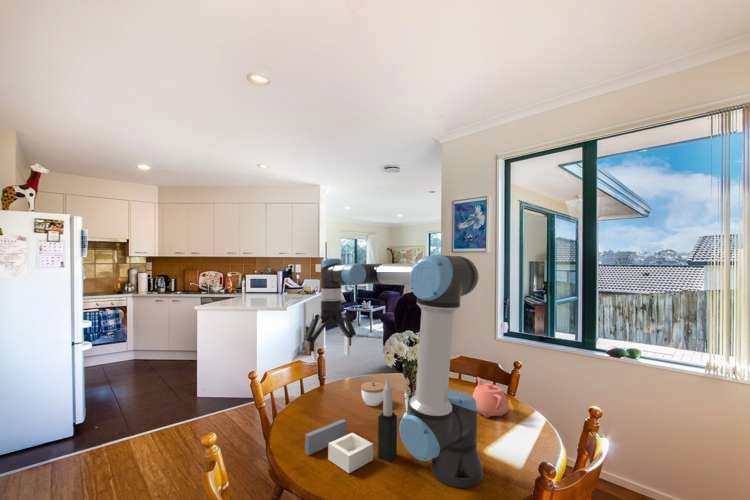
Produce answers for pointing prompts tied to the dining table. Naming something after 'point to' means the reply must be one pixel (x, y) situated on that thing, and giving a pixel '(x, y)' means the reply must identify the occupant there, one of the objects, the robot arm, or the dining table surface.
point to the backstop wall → (324, 436)
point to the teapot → (490, 400)
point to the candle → (387, 427)
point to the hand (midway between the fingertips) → (330, 357)
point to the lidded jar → (372, 393)
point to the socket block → (350, 452)
